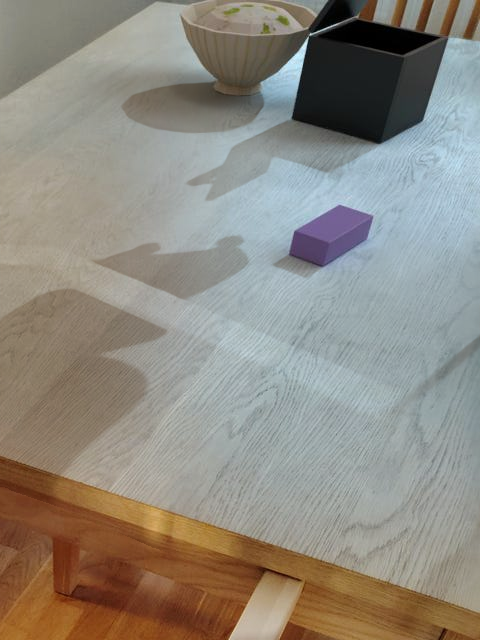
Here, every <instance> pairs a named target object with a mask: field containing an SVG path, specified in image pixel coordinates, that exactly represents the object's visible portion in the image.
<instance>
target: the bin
mask: <svg viewBox="0 0 480 640" xmlns="http://www.w3.org/2000/svg"><path fill="white" fill-rule="evenodd" d="M448 41H449V36H445V35H440V34H435V33H432V32H427V31H422V30H417V29H411V28H407V27H402V26H397V25H392V24H389V23H384V22H378V21H374V20H369V19H364V18H361V17H360V18H359V17H353V18H350V19H348V20H345V21H342V22H340V23H337V24H335V25H332V26H330V27H327V28H325V29H322V30H320V31H317V32H315V33H312V34H310V35H309V37H308V38H307V44H306V48H305V52H304V57H303V63H302V65H301V66H302V67H301V72H300V76H299V81H298V86H297V91H296V95H295V100H294V105H293V109H292V114H291V119H292V120H295V121H298V122H302V123H305V124H308V125H309V124H310V125H313V126H316V127H319V128H323V129H327V130H331V131H334V132H337V133H342V134H344V135H348V136H351V137H356V138H358V139H359V138H360V139H363V140H366V141H370V142H373V143H377V144H382V143H384V142H386V141H388V140H390V139H392V138H393V137H396V136H397V135H399V134H401V133H403V132H405V131H407V130H408V129H410V128H412V127H414V126H416V125H418V124H420V123H421V122H423V121H424V119H425V115H426V113H427V109H428V106H429V102H430V99H431V96H432V94H433V90H434V87H435V84H436V81H437V77H438V74H439V71H440V68H441V64H442V61H443V57H444V55H445V51H446V48H447V46H448Z"/></svg>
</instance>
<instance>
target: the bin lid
mask: <svg viewBox="0 0 480 640" xmlns="http://www.w3.org/2000/svg"><path fill="white" fill-rule="evenodd" d="M369 1H370V0H327V2H326V3H325V4H324V5H323V7H322V9H321V10H320V11H319V12H318V14H317V17H316V18H315V20H314V21H313V23H312V24H311V25H310V27H309V28H308V30H309V31H310V35H313V34H315V33H318V32H320V31H323V30H325V29H328V28H330V27H333V26H335V25H338V24H340V23H343V22H345V21H348V20H350V19H352V18H356V17H357V16H359V14H361V12H362V11H363V9H364V8H365V7H366V5H367V4H368V3H369Z"/></svg>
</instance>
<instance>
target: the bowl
mask: <svg viewBox="0 0 480 640" xmlns="http://www.w3.org/2000/svg"><path fill="white" fill-rule="evenodd" d="M317 15H318V14H317V13H316V12H315V11H313V10H312V9H311V8H310V7H307V6H303V5H300V4H297V3H293V2H289V1H286V0H203V1H198V2H194V3H190V4H188V5H186V7H185V8H184V9H182V10H181V11H180V12H179V17H180V20H181V24H182V27H183V31H184V34H185V38H186V40H187V42H188V43H189V45H190V47H191V48H192V51H193V52H194V54H195V55H196V57H197V60H199V62H200V64H201V65H202V66H203V68H204V69H205V70H206V71H207V72H208V73H209V74H210V75H212V77H214V78H215V79H216V80H217V81H216V82H215V83H214V85H213V86H212V87H213V89H214V90H215V91H217V92H219V93H221V94H224V95H229V96H230V95H231V96H237V97H238V96H252V95H255V94H258V93H260V92H261V91H262V90H263V86H262V84H261V83H262V82H264V81H266V80H268V79H269V78H270V77H272V76H275V74H277V73H279V72H280V71H281V70H282V69H283V68H284V67H285V66H286V65H287V64H288V63H289V62H290V60H292V59H293V57H295V55H297V54H298V53H299V51H300V50H301V49H302V47H303V46H304V44H305V43H306V41H308V37H309V36H310V35H311V33H310V31H309V30H308V28H309V27H310V25H311V24H312V23H313V21H314V20H315V18H316V17H317Z"/></svg>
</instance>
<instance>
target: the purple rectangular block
mask: <svg viewBox="0 0 480 640" xmlns="http://www.w3.org/2000/svg"><path fill="white" fill-rule="evenodd" d="M373 220H374V215H373V214H370V213H367V212H364V211H360V210H357V209H355V208H351V207H349V206H345V205H342V204H338V205H337V206H335V207H333V208H331V209H329V210H328V211H326V212H325V213H322V214H321V215H319V216H317V217H315V218H314V219H312V220H310V221H308V222H307V223H305V224H304V225H302V226H300V227H298V228H297V229H295V230H293V234H292V239H291V244H290V248H289V251H288V254H289V255H291V256H294V257H297V258H299V259H302V260H305V261H308V262H310V263H313V264H316V265H318V266H322V267H325V266H326V265H328V264H329V263H331V262H332V261H334V260H335V259H337V258H338V257H340V256H342V255H343V254H345V253H347V252H348V251H350V250H351V249H353V248H355V247H356V246H358V245H359V244H361V243H362V242H364V241H366V240H367V239H368V237H369V234H370V231H371V227H372V225H373Z"/></svg>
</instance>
